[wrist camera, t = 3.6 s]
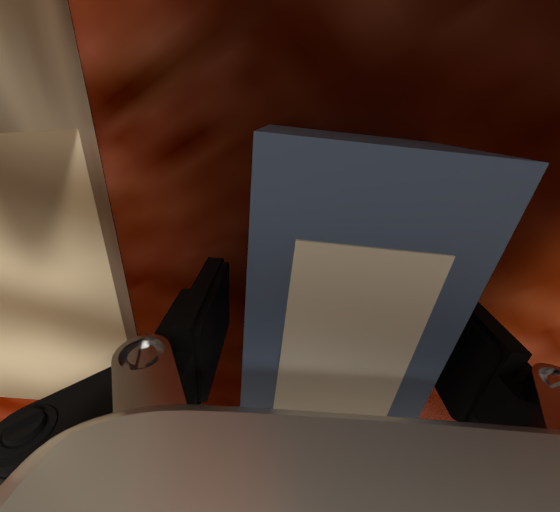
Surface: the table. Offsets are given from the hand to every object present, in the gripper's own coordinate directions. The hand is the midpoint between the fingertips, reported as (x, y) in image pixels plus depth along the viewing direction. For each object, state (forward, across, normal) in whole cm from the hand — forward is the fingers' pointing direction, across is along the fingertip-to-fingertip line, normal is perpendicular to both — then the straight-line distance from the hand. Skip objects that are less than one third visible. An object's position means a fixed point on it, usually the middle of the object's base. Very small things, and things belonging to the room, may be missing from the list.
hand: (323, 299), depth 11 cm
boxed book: (+1, 0, 0) cm, 1 cm away
